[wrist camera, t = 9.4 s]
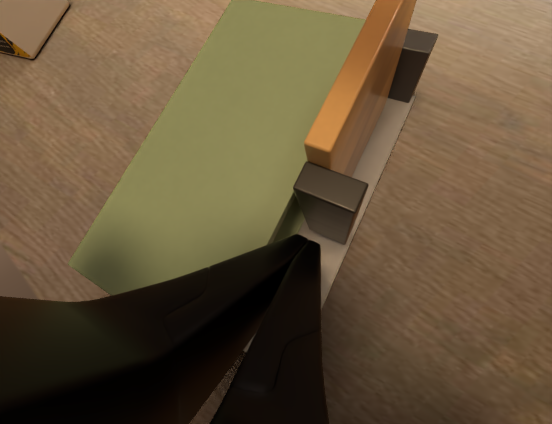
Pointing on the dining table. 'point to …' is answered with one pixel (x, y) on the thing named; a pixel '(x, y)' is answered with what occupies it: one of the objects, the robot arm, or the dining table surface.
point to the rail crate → (239, 149)
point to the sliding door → (351, 122)
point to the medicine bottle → (28, 24)
